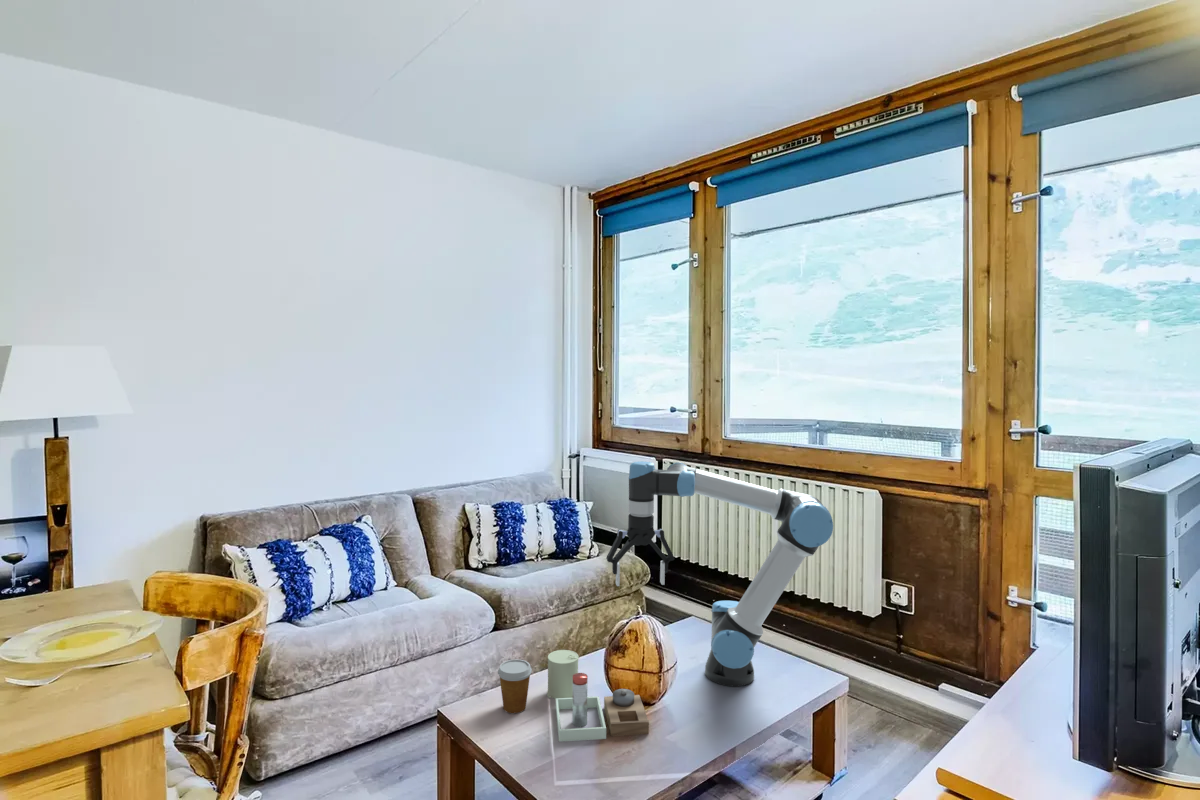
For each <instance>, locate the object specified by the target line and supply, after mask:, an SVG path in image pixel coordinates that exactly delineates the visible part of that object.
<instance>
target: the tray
mask: <svg viewBox="0 0 1200 800" xmlns="http://www.w3.org/2000/svg"><path fill="white" fill-rule="evenodd" d="M600 699H601V698H600V696H599V695H598V696H587V709H592V708H594V709H595V708H597V709H596V711H597V715H598V719H599V723H600V726H596V727H578V728H577V727H576V728H562V724H561V716H560V710H570V709H571V710H572V703H573V698H556V699H555V716H556V727H557V728H556V729H557V735H558V737H557V738H558V742H573V741H574V742H577V741H592V740H593V741H594V740H607V727H606V722H605V721H606V720H605V717H604V712H603V709H602V705H601V704H602V703H601V701H600Z"/></svg>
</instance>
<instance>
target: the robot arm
mask: <svg viewBox="0 0 1200 800" xmlns="http://www.w3.org/2000/svg"><path fill="white" fill-rule="evenodd" d="M628 471H629V474H628V513H629V514H628V517H627V518H628V522H627V523H628V524H627V525H628V528H627V530H622V529H617V534H616V538H615V539H614V541H613V544H612V545H611V548H610V550H609V551H608V554H607V555H606V560H607V563H611V564H612V565H611V566H612V570H611V571H612V574H613V575H615V585H616V587H620V583H621V581H620V576H621V573H620V572H621V571H620V570H621V564H620V561H621V559H622V558H623V557H624V556H625V555H626V553H627V552H628V551H629V550H630V549H631V548H632V547H633V546H634V545H635V546H636V547H637V546H647V545H649V546H651V547H652V548H653V550H654V551H655V553H657V555H658V556H659V557H660V558H661V559H662V560H660V566H659V568H660V569H659V570H660V571H659V583H660V584H661V585H662V586H665V580H666V579H665V577H666V575H665V574H667V573H668V572H669V563H670V562H672V561H674V560H675V556H674V554H673V552H672V550H671V547H670V545H669V544H668V542H667V539H666V537H665V531H664V530H663V529H662V528H658V529H656V530H655V528H654V521H655V520H654V519H655V517H654V515H653V514H654V512H655V509H654V508H655V507H654V506H655V496H669V497H671V496H672V497H681V498H683V497H694V494H697V495H700V496H704V497H707V498H709V499H711V498H712V499H713V500H716V501H721V502H724V503H729V504H731V505H736V506H739V507H743V508H745V509H750V510H752V511H753V510H754V511H757V512H760V513H764V514H768V515H770V517H771V518H772V519H773V520H775V521H779V522H782V523H781V524H780V526H779V527H778V529H777V531H776V533H777V534H776V535H777V541H776V543H775V544H774V546H773V547H772V550H771V551H769V554H768V556H767V558H766V559H765V560H764V561H763V563H762V565H761V566H760V569H759V570H758V571H757V572H756V575H755V576H754V578H753V579H752V581H751V582H750V584H749V585H748V587H747V589H746V590H745V592H744V593H743V595H742V597H741V598H740V600H739V601H737V600H718V601H715V602H713V603H712V606H711V608H712V609H711V610H710V611H711V638H710V639H711V641H710V647H711V649H710V652H709V654H708V657H707V659H706V662H705V667H704V669H705V670H704V672H705V676H706V677H707V678H708V680H710V681H712V682H714V683H716V684H719V685H722V686H727V687H741V686H742V687H743V686H746V685H749V684H751V683H752V682H753V681H754V679H755V669H754V666H753V662H752V660H753V657H754V654H755V653H754V652H755V647H756V645H757V643H758V642H759V640H760V639H761V637H762V635H764V630H763V626H762V625H763V623H764V622H765V620H766V619H767V617H768V616H769V614H770V613H771V612H772V610H773V608H774V607H775V605H776V604H777V602H778V600H779V598H780V597H781V595H782V594H783V593H784V590H785V589H786V588H787V586H788V584H789V583H790V582H791V580H792V578H793V576H794V575H795V573H796V572H797V571H798V569H799V567H800V566H801V564H802V562H803V561H804V559H805V558H806V557H812V556H814V555H815V553H816V552H817V550H818V548H819V547H821V546H823V545H824V544H825V543H827V542H828V541H829V539H831V537H832V535H833V531H834V522H833V517H832V515H831V513H830V511H829V509H828V508H826V506H824V505H823V503H822V502H821V501H820V499H818V498H817V497H815V496H814V495H810V494H807V493H802V492H796V491H792V490H787V489H784V488H779V489H777V490H775V489H771V488H768V487H764V486H761V485H757V484H753V483H749V482H746V481H742V480H738V479H735V478H732V477H731V478H730V477H728V476H724V475H720V474H718V473H717V474H716V473H713V472H711V471H706V470H701V469H699V468H694V467H690V466H687V465H686V464H685V463H683V462H674V463H672V464H670V465H669V466H668V467H667V469H657V468H656V467H655V463H654V462H650V461H633V462H632V463H631V464H629V470H628ZM626 536H627V537H628V539H627V541H625V544H624V545H623V546H622V547H621V548H620V549H619V547H620V545H621V543H622V540H623V539H624V538H625V537H626ZM655 536H656V537H657V538H659V539H660V541H661V543H662V546H663V548H664V550H665V552H666V554H664V553H663V552H662V550H661V549H660V548H659V547H658V545H657V544H656V543H655V541H653V540H652V539H653V538H654V537H655ZM618 549H619V550H618ZM617 550H618V551H617ZM666 555H667V556H666Z"/></svg>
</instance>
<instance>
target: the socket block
mask: <svg viewBox="0 0 1200 800" xmlns="http://www.w3.org/2000/svg"><path fill="white" fill-rule="evenodd" d="M603 710H604V713H605V717H606V720H607V721H606V722H607V725H608V730H609V733H610V734H609V735H610V737H618V736H619V737H620V736H622V737H623V736H636V735H649V734H650V729H649V728H650V721H649V718H648V716H647V713H646V709H645V707H644V704H643V702H642V699H641V696H640V694H635V693H634V691H632V690H631V689H629V688H628V689H627V688H619V689H615V690H614V691H613V692H612V695H611V696H609V695H606V696H604V697H603Z"/></svg>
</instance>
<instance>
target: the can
mask: <svg viewBox="0 0 1200 800" xmlns="http://www.w3.org/2000/svg"><path fill="white" fill-rule="evenodd" d="M579 656H580V655H579V654H578V653H577V652H576V651H573V650H569V649H557V650H555V651H554V650H553V651H551V652H550V653H549V654H547V694H546V695H547V698H548V699H549V700H551V699H550V698H552V699H554V700H556V698H573V675H574V674H576V673H579Z"/></svg>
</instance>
